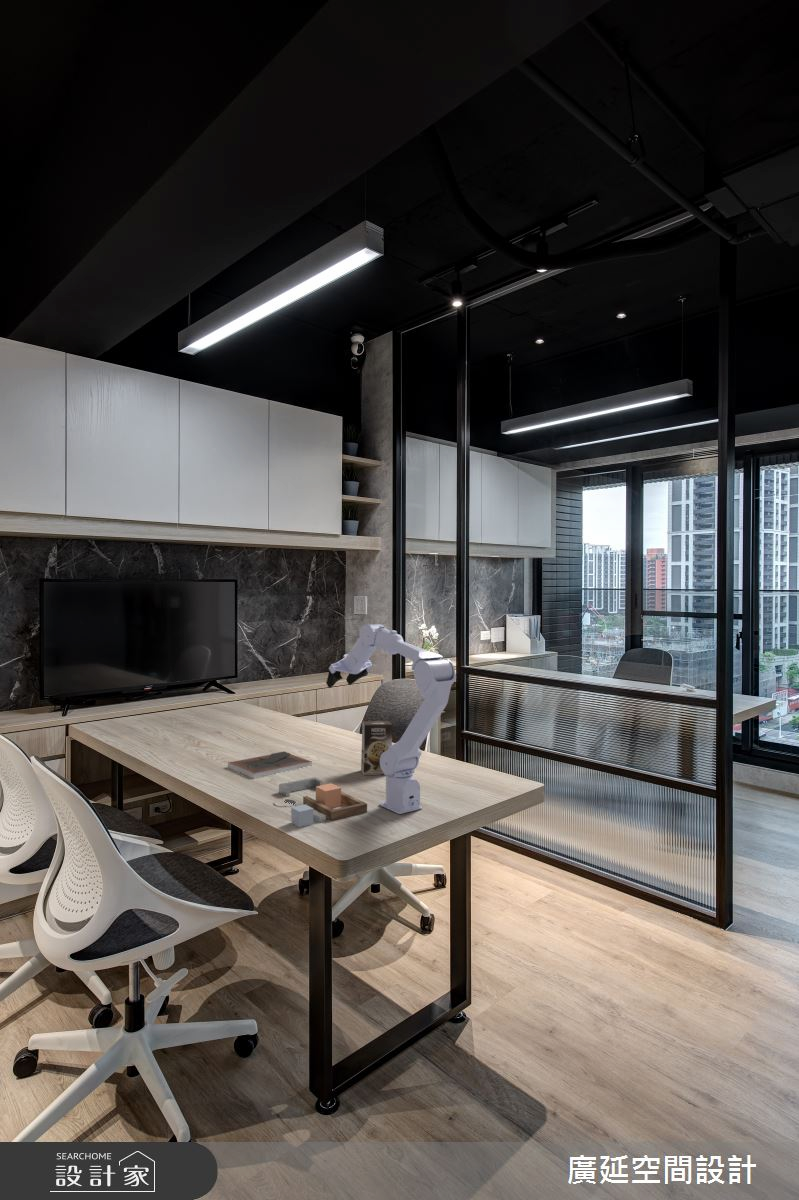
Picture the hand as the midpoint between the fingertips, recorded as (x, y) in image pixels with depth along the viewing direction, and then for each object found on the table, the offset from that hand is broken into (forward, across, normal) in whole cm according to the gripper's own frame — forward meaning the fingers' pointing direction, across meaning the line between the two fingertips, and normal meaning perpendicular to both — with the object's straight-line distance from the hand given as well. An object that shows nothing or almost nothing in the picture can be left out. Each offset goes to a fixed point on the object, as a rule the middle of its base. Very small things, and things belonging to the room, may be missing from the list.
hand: (338, 683), depth 197 cm
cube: (+11, +14, +31) cm, 36 cm away
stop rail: (+22, +13, +21) cm, 33 cm away
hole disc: (+17, +23, +25) cm, 38 cm away
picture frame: (+42, +6, +2) cm, 42 cm away
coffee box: (+22, -16, +21) cm, 35 cm away
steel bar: (+9, +23, +34) cm, 42 cm away
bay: (+9, +15, +33) cm, 37 cm away
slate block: (+6, +28, +36) cm, 46 cm away
